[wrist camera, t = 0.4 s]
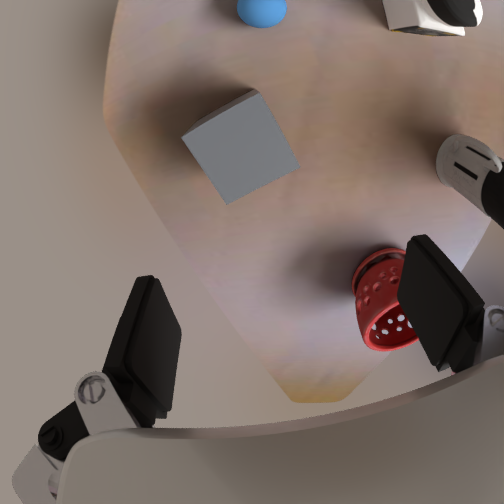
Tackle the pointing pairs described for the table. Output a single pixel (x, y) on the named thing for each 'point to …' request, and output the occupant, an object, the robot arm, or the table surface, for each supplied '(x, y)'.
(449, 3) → the medicine bottle
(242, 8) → the ball
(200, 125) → the gray cube
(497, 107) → the table surface
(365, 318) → the plant pot
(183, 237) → the table surface
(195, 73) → the table surface
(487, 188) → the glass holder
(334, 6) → the table surface
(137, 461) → the robot arm
